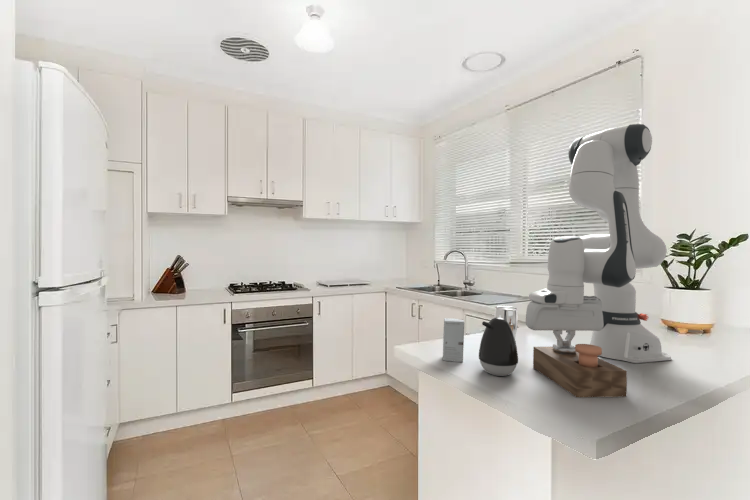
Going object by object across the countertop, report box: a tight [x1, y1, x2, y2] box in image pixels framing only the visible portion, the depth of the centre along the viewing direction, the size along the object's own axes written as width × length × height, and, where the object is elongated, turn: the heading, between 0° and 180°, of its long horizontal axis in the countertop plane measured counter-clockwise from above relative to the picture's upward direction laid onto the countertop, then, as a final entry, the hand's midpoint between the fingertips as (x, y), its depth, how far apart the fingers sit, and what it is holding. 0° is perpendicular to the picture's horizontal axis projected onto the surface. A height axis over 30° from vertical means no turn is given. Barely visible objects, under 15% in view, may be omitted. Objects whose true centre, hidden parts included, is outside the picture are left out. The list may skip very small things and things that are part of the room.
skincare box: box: [442, 317, 465, 363], centre depth 109 cm, size 6×4×12 cm
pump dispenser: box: [478, 317, 519, 377], centre depth 98 cm, size 10×10×15 cm
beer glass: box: [493, 305, 519, 339], centre depth 114 cm, size 7×7×15 cm
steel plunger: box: [552, 343, 576, 354], centre depth 98 cm, size 6×6×5 cm
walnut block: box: [532, 346, 628, 398], centre depth 93 cm, size 12×20×6 cm, turn 3°
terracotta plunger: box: [574, 343, 602, 367], centre depth 88 cm, size 6×6×5 cm
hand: (563, 346), depth 98 cm, fingers closed
